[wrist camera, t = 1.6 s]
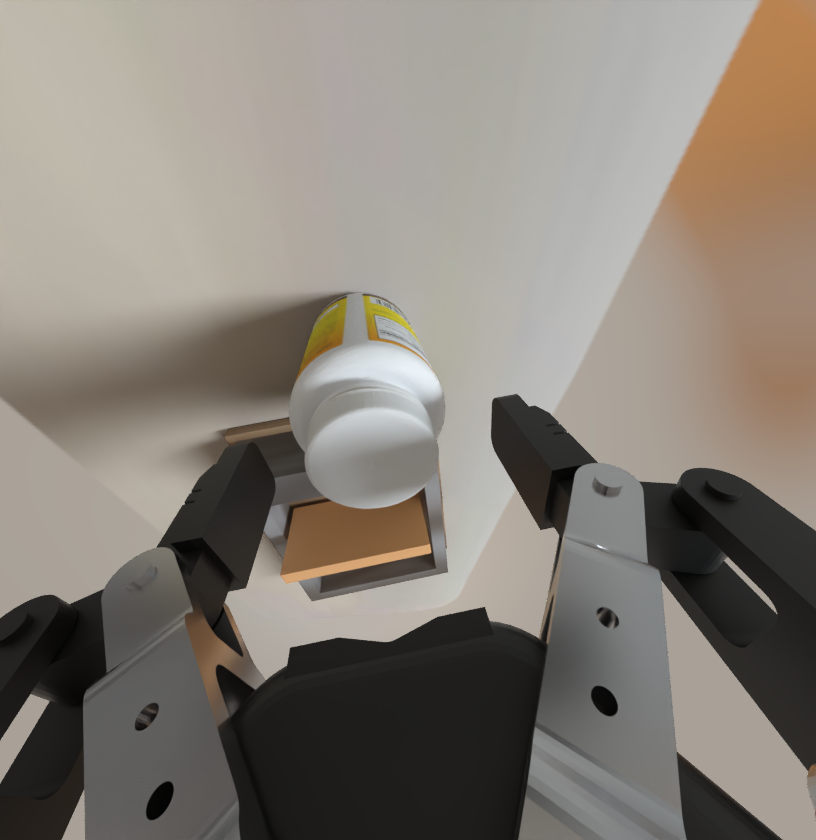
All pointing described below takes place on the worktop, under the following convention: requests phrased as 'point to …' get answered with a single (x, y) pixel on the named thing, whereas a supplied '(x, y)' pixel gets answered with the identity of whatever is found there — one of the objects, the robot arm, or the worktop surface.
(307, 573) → the board
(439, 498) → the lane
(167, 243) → the worktop surface
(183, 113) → the worktop surface
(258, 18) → the worktop surface
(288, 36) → the worktop surface
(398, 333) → the supplement bottle
